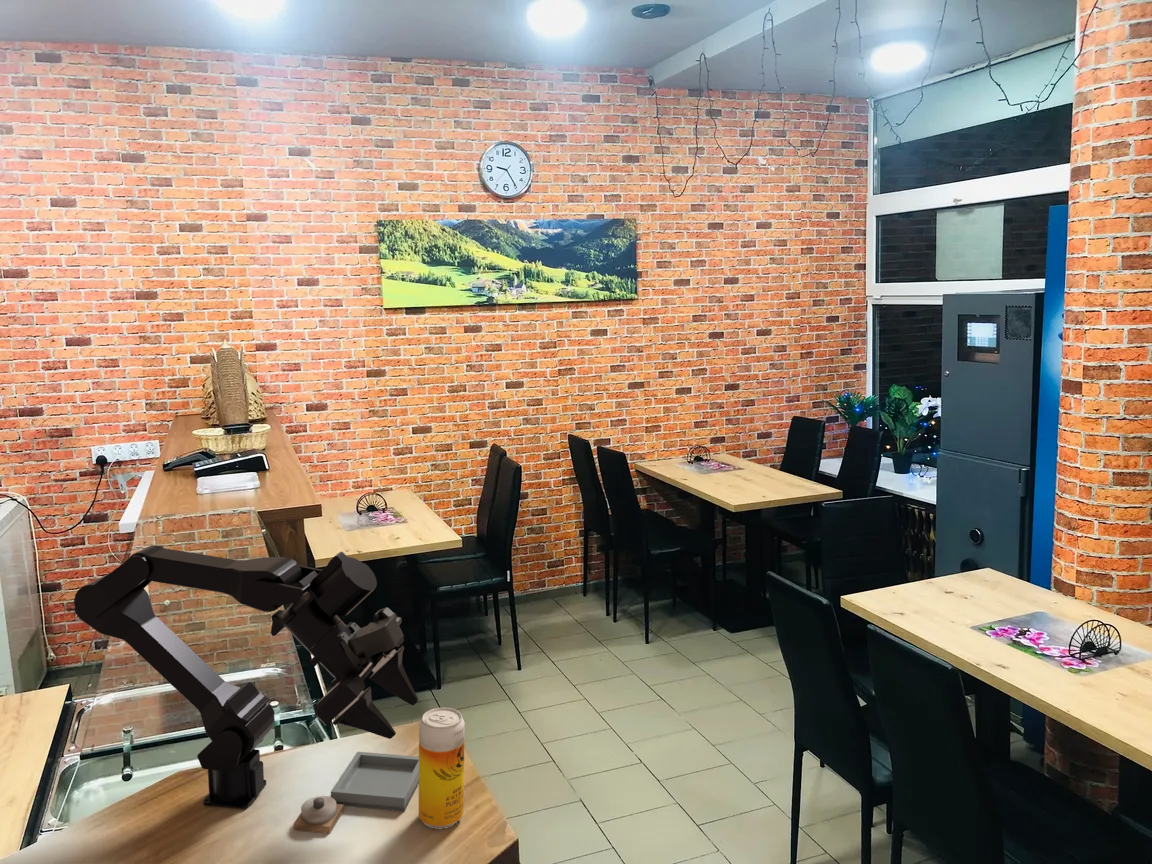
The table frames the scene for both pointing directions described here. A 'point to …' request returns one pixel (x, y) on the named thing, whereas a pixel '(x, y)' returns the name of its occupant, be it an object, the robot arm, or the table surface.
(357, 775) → the tray
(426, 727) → the beer can
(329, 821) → the desk bell
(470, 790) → the table surface
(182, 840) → the table surface
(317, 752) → the table surface
